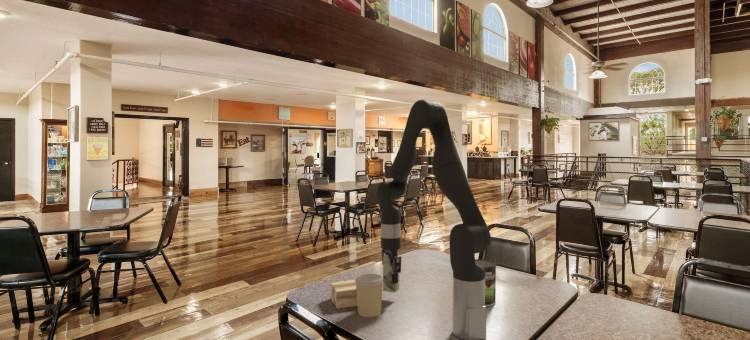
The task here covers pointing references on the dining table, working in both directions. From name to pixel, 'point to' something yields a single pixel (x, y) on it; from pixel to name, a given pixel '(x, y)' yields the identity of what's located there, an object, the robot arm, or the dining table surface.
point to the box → (388, 277)
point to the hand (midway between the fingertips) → (391, 280)
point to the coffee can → (489, 280)
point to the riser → (344, 293)
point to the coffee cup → (369, 294)
